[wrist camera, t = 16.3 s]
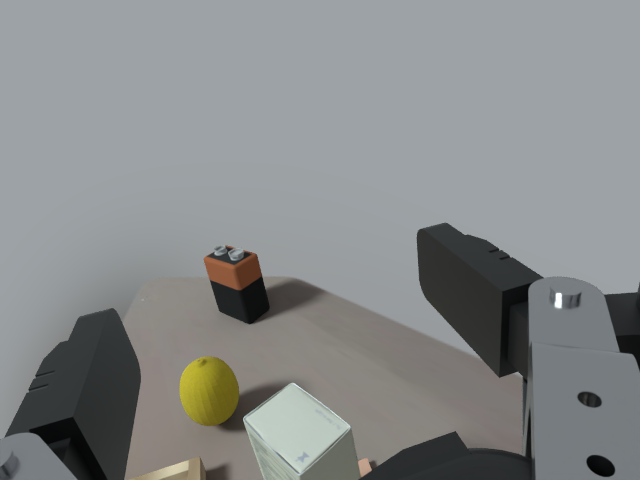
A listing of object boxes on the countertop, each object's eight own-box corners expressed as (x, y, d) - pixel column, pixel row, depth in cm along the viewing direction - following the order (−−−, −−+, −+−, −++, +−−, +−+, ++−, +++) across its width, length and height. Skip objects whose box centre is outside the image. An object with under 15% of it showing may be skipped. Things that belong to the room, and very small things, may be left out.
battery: (249, 326, 59) (231, 262, 54) (218, 312, 63) (199, 251, 58) (271, 309, 61) (256, 246, 57) (240, 297, 66) (224, 238, 61)
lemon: (214, 395, 48) (194, 337, 44) (256, 405, 46) (238, 346, 42) (181, 435, 43) (156, 375, 40) (226, 449, 41) (204, 387, 38)
